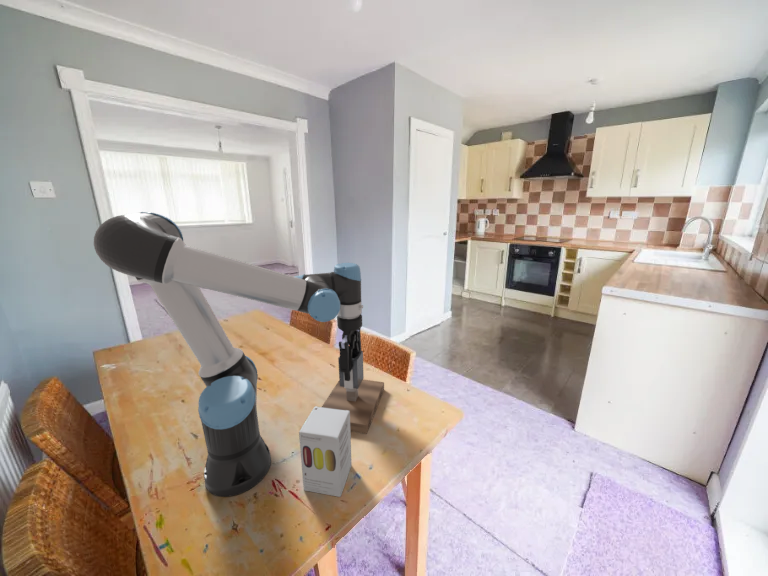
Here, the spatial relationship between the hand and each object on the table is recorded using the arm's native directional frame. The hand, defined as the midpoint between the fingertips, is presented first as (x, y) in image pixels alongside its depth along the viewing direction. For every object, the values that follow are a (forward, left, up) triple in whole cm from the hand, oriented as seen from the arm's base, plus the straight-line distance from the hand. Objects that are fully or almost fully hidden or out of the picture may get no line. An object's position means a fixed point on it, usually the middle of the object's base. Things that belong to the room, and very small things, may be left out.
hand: (352, 381), depth 99 cm
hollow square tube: (0, 0, 0) cm, 0 cm away
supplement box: (-27, -3, -9) cm, 29 cm away
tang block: (0, 0, -9) cm, 9 cm away
